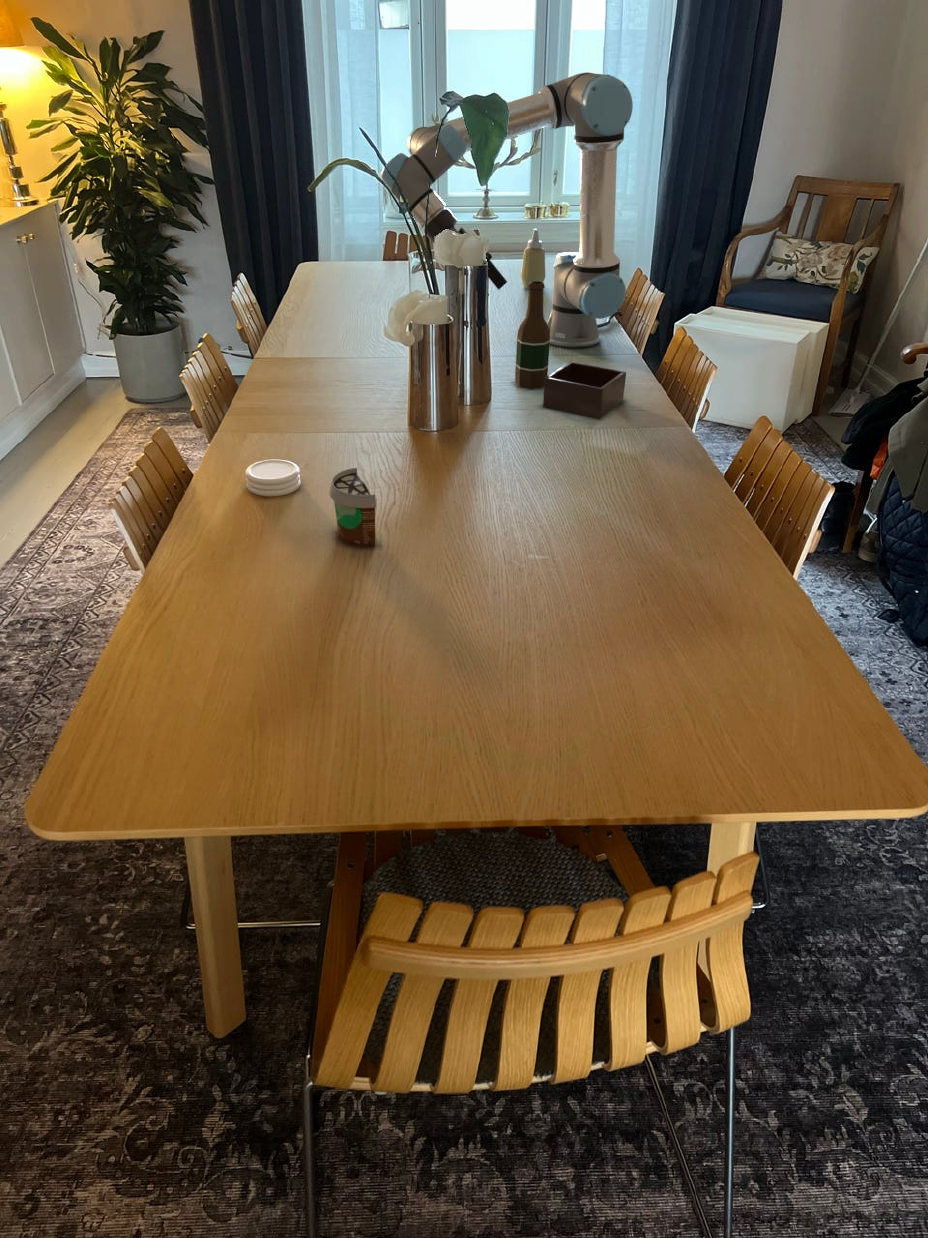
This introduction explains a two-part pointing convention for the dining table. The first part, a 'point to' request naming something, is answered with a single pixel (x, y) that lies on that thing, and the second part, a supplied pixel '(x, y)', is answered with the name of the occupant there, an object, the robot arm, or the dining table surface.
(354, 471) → the food container
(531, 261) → the squeeze bottle
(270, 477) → the coaster
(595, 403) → the box
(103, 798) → the dining table surface
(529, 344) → the beer bottle
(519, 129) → the robot arm
